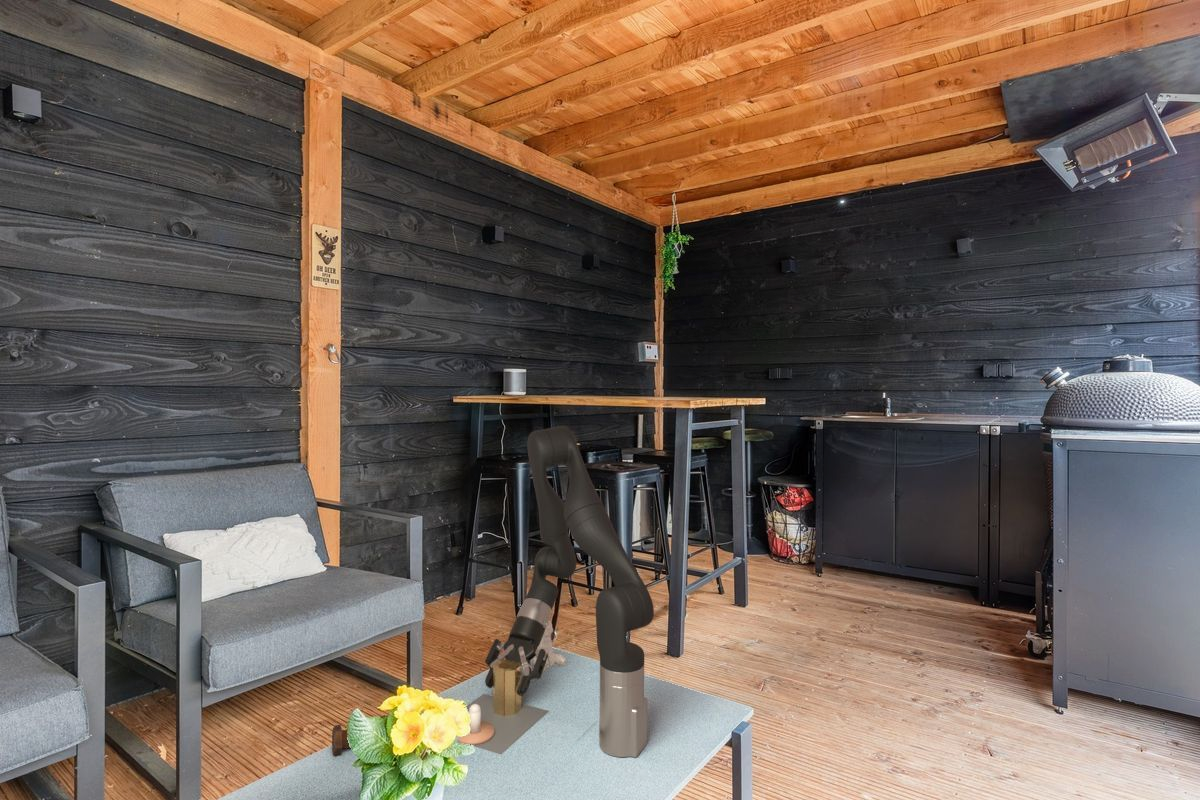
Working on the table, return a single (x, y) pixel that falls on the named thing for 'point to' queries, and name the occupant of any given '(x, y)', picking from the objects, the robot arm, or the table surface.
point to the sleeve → (506, 687)
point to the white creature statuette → (549, 650)
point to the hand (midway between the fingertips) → (503, 690)
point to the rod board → (498, 725)
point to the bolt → (339, 740)
